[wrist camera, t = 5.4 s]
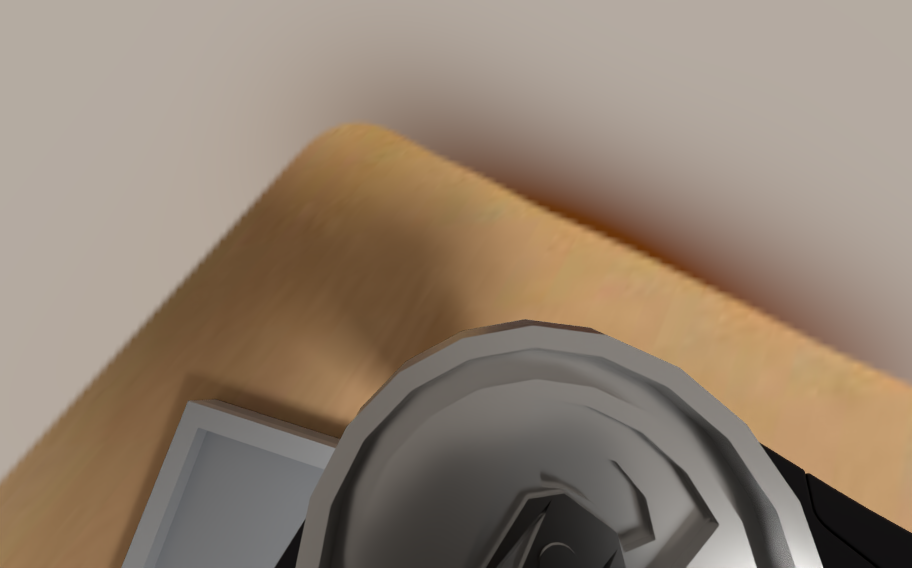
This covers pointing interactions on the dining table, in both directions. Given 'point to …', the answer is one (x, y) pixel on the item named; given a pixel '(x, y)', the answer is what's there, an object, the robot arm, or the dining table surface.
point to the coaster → (229, 490)
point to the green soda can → (549, 465)
